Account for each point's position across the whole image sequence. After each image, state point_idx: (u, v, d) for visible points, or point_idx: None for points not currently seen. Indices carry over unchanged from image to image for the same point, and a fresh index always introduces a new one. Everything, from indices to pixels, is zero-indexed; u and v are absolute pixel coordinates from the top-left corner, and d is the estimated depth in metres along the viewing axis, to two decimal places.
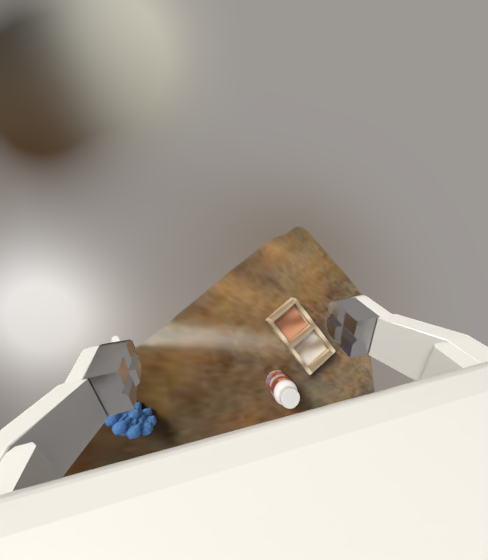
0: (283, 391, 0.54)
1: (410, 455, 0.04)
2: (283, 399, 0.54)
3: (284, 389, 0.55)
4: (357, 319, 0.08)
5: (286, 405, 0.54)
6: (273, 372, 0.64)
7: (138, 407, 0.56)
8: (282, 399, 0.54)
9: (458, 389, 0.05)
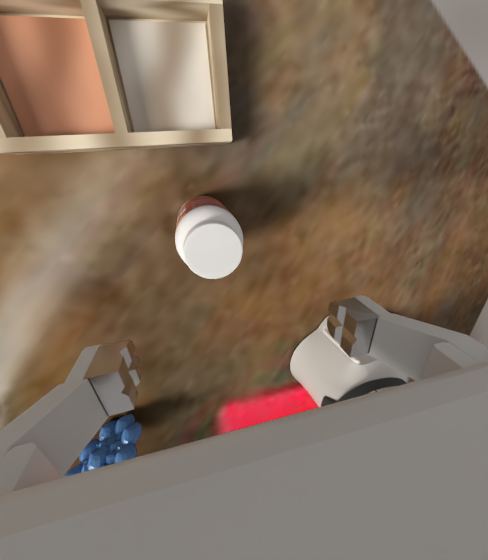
0: (185, 258, 0.18)
1: (410, 455, 0.04)
2: (203, 272, 0.19)
3: (183, 251, 0.18)
4: (357, 319, 0.08)
5: (223, 271, 0.19)
6: None
7: (106, 433, 0.36)
8: (201, 273, 0.19)
9: (458, 389, 0.05)
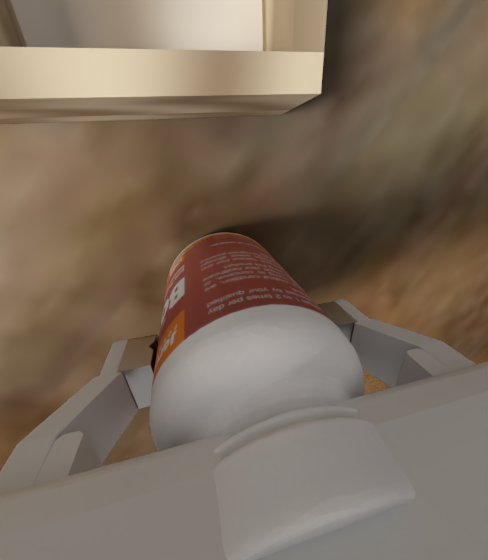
0: None
1: (410, 455, 0.04)
2: None
3: None
4: None
5: None
6: None
7: None
8: None
9: (458, 389, 0.05)
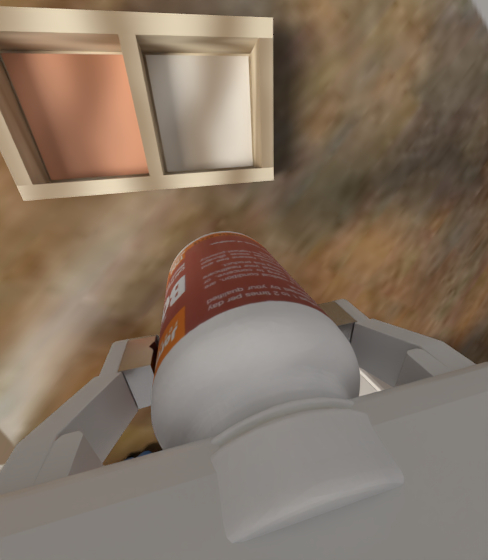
0: None
1: (410, 455, 0.04)
2: None
3: None
4: None
5: None
6: None
7: None
8: None
9: (458, 389, 0.05)
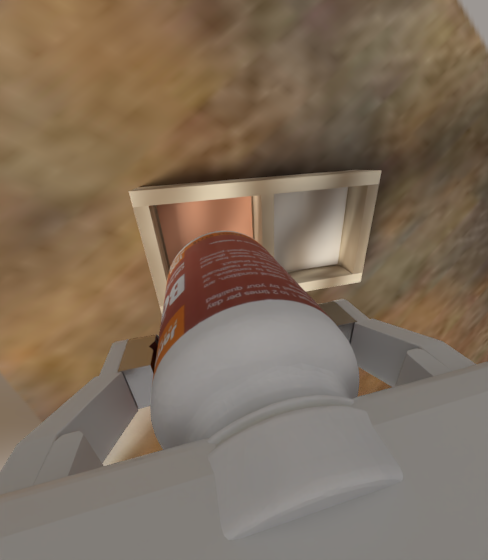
0: None
1: (410, 455, 0.04)
2: None
3: None
4: None
5: None
6: None
7: None
8: None
9: (458, 389, 0.05)
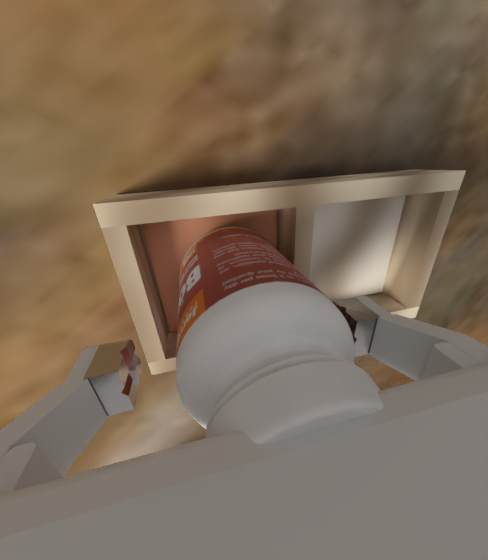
0: None
1: (410, 455, 0.04)
2: None
3: None
4: (357, 319, 0.08)
5: None
6: None
7: None
8: None
9: (458, 389, 0.05)
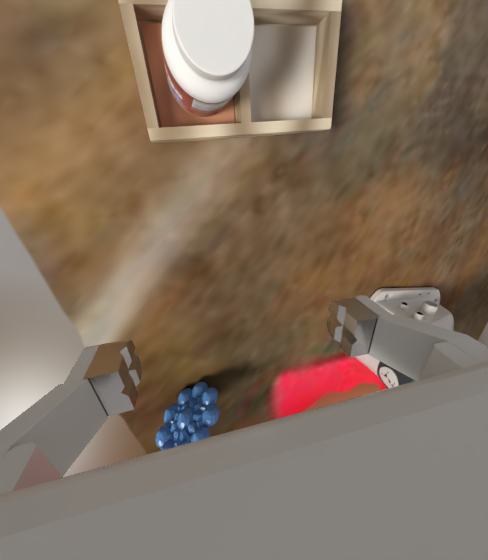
0: (175, 31, 0.13)
1: (410, 455, 0.04)
2: (201, 58, 0.14)
3: (172, 21, 0.13)
4: (357, 319, 0.08)
5: (228, 62, 0.14)
6: None
7: (185, 398, 0.40)
8: (198, 60, 0.14)
9: (458, 389, 0.05)
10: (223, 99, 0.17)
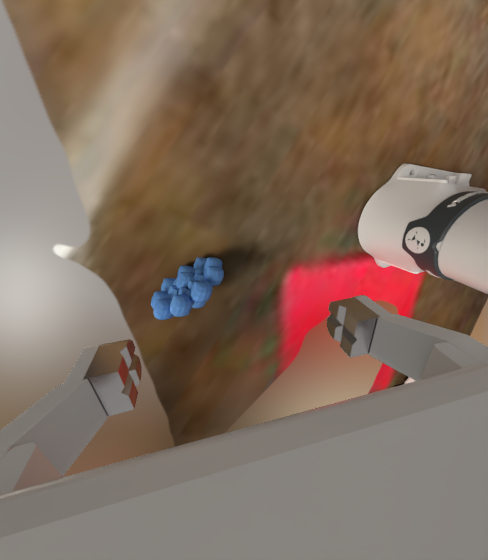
0: None
1: (410, 455, 0.04)
2: None
3: None
4: (357, 319, 0.08)
5: None
6: None
7: (185, 270, 0.36)
8: None
9: (458, 389, 0.05)
10: None
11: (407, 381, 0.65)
